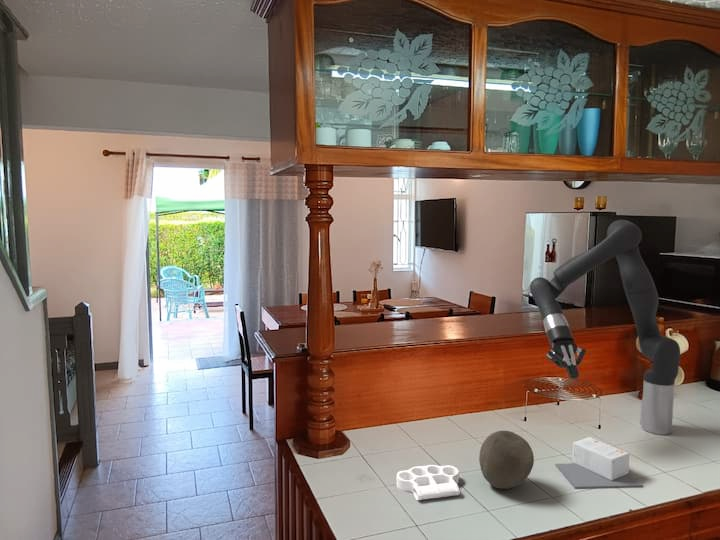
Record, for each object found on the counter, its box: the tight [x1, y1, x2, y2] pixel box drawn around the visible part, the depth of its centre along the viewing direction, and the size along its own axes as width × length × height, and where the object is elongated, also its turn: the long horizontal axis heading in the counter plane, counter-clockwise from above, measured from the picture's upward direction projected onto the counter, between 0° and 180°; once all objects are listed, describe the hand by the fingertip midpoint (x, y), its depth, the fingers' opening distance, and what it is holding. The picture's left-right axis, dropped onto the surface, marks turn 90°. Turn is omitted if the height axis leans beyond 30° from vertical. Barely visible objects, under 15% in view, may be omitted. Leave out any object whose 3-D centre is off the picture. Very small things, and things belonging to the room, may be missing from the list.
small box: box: [571, 436, 630, 481], centre depth 149 cm, size 8×6×13 cm
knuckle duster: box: [396, 464, 460, 501], centre depth 141 cm, size 3×18×15 cm
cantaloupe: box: [478, 430, 535, 490], centre depth 140 cm, size 14×14×15 cm
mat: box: [554, 462, 644, 489], centre depth 145 cm, size 13×19×1 cm
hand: (574, 378), depth 158 cm, fingers closed
